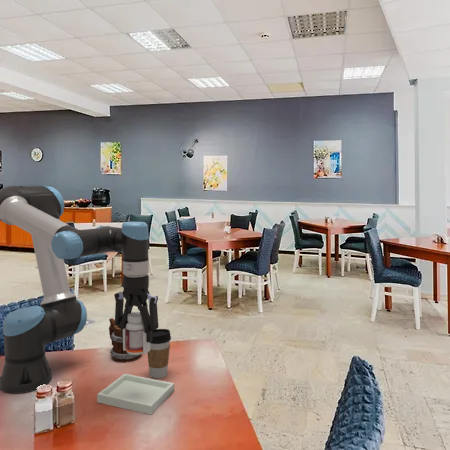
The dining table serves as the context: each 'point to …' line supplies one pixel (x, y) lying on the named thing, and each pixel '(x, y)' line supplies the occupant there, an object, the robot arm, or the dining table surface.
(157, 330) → the coffee cup
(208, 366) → the dining table surface
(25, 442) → the dining table surface
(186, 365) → the dining table surface
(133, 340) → the pill bottle
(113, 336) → the mug
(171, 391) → the tray
